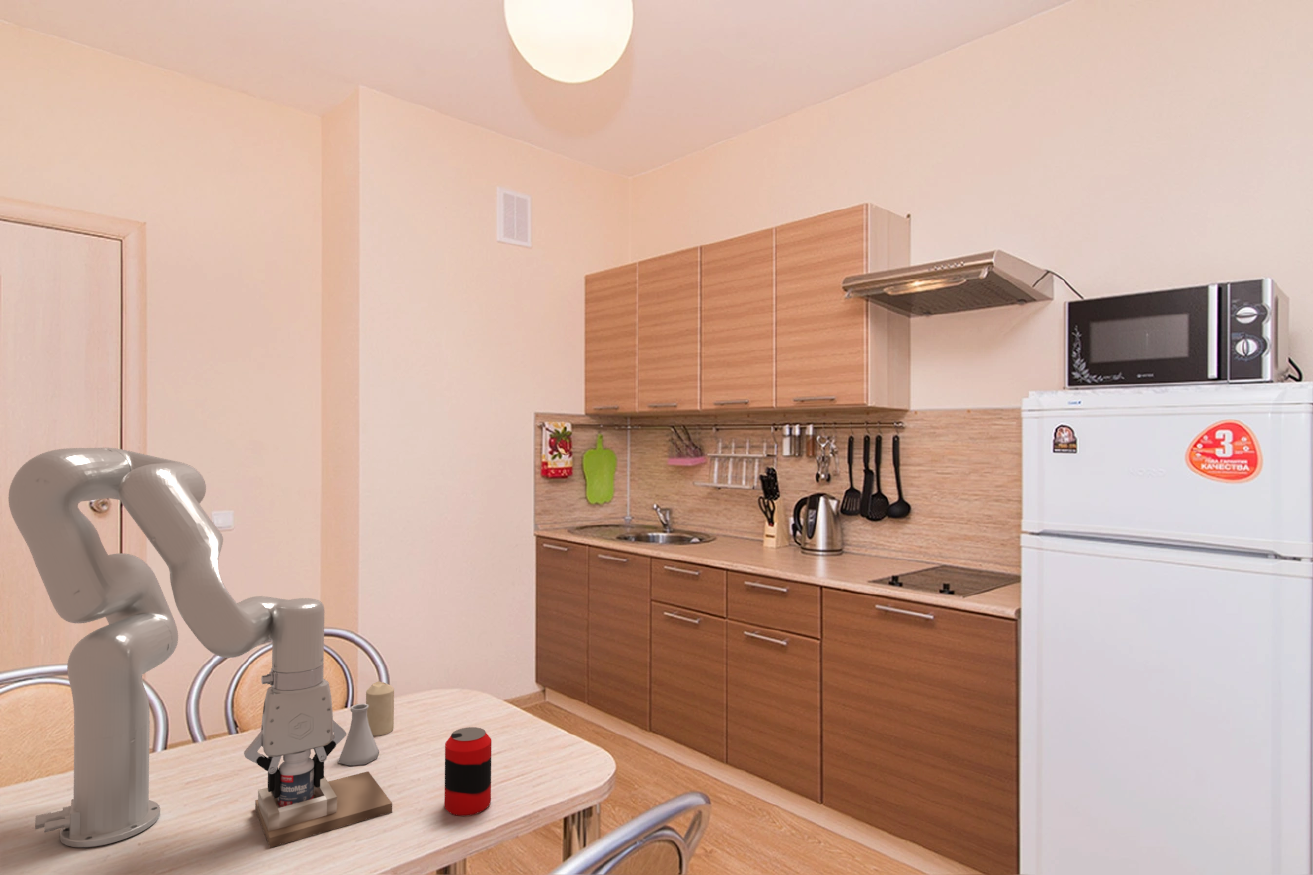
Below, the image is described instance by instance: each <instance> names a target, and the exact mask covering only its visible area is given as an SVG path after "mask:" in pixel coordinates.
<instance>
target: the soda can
mask: <svg viewBox="0 0 1313 875" xmlns="http://www.w3.org/2000/svg"><path fill="white" fill-rule="evenodd" d="M491 801H492V738H491V737H490V735H489V734H488V733H487V731H486V730H485V729H484V728H481V727H477V726H469V727H468V726H467V727H462V728H458V729H456V730H454V731H453V732H452V733H451V734H450V736H449V737H448V739H447V740H446V741H445V743H444V804H443V805H444V806H443V807H444V809H445V810H446V811H447V812H448V813H449V814H451V815H453V816H458V817H466V816H473V815H477V814H480V813H481V812H484V811H485V810H486V809H487V808H488V807H489V806H490V804H491Z"/></svg>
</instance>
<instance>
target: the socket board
mask: <svg viewBox="0 0 1313 875" xmlns="http://www.w3.org/2000/svg"><path fill="white" fill-rule="evenodd" d="M277 801H278V798H274V796H273V793H272V791H271V792H268V787H264V788H260V789H258V790H257V799H255V800H254V802H255V803H254V804H255V812H256V815H257V818H258V820H259V824H260V826H261V829H262V830H263V831H262V832H263V833H264V836H265V839H266V842H267V844H268V847H269V849H272V848H275V847H278V846H282V845H284V844H288V843H292V842H294V841H299V840H302V839H306V838H309V837H312V836H315V835H316V836H317V835H320V834H322V833H323V834H324V833H325V832H329V831H333V830H335V829H336V830H337V829H339V828H342V827H346V826H350V825H352V824H357V823H359V822H362V821H367V820H370V819H373V818H377V817H380V816H384V815H387V814H390V813H393V802H392V801H391V799H390V798H389V796H387V794H386V793H385V791H384V790H383V789H382V787H381V786H380V785H379V784H378V782H377V781H376V780H375V778H374V777H373V775H372V773H370V771H364V772H360V773H356V774H352V775H348V776H344V777H340V778H337V779H336V778H335V779H333V780H329V781H328V780H327V778H326V776H325V775H324V778H323V779H320V787H318V788H316V787H315V786H314V799H311V800H307V801H303V802H299V803H295V804H292V805H288V806H284V807H280V808H278V805H277V804H278V802H277Z"/></svg>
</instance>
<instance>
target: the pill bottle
mask: <svg viewBox="0 0 1313 875" xmlns="http://www.w3.org/2000/svg"><path fill="white" fill-rule="evenodd" d="M311 754H312V749H310V750H306V751H301V752H297V753H292V754H288V755H283V756H282V760H283V762H282V763H281V764H280V765H278V769H279V772H280V796H279V797H278V801H277V802H278V804H277V805H278V808H280V807H284V806H288V805H292V804H295V803H299V802H303V801H307V800H311V799H314V761H313V760H312V759H313V758H312V757H311Z"/></svg>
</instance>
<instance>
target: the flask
mask: <svg viewBox="0 0 1313 875" xmlns="http://www.w3.org/2000/svg"><path fill="white" fill-rule="evenodd" d="M368 707H369V705H368V704H366V703H357V704H354V705H352V706H351V707H350V712H351V723H350V726H349V731H348V733H347V735H346V736H347V737H346V740H345V743H344V745H343V747H342V750H341V754H340V756H339V759H338V761H337V763H339V764H342V765H346V766H359V765H360V766H362V765H366V764H368V763H371V762H372V761H375V760H376V759H378V756H379V753H380V749H379V747H378V745H377V742H376V740H375V736H373V735H372V732H371V729H370V727H369V724H368V718H367V709H368Z"/></svg>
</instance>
